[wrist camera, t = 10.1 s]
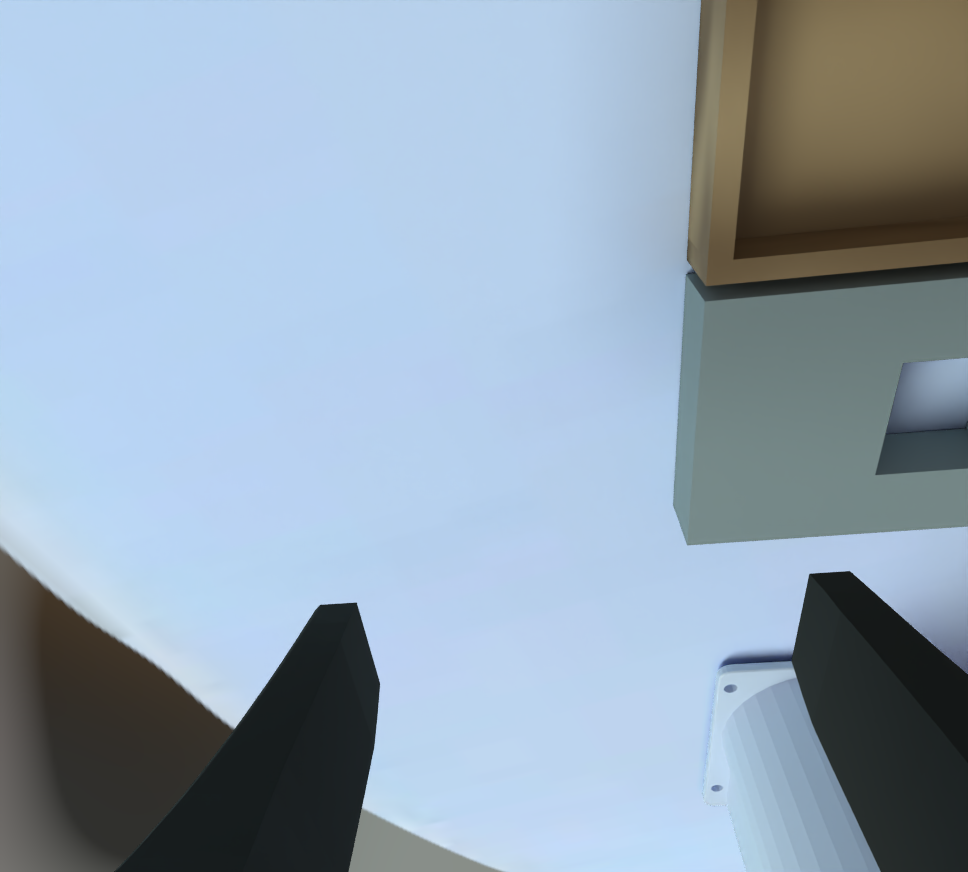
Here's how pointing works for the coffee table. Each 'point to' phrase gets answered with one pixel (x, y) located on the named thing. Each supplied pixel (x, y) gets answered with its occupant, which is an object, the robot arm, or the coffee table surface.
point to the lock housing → (816, 406)
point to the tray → (828, 138)
